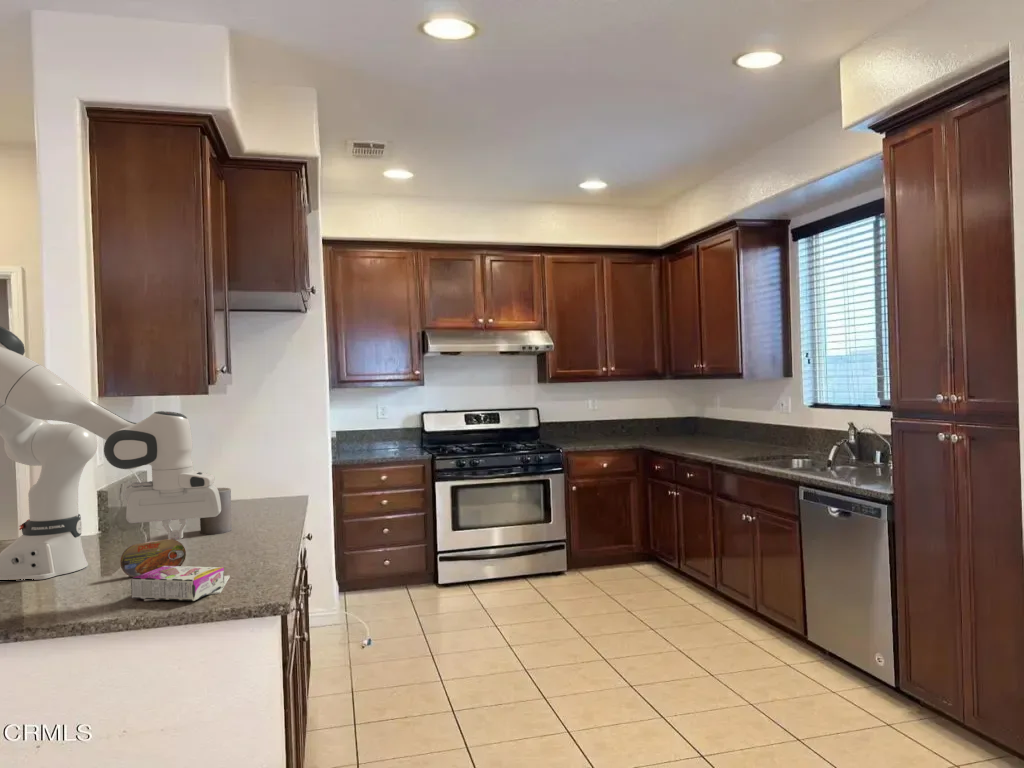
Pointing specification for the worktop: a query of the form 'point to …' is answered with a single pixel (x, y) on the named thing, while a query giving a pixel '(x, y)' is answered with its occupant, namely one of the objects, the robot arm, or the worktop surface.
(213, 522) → the pillar candle
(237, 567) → the worktop surface
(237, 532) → the worktop surface
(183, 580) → the candy bar box
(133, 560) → the tin
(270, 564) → the worktop surface
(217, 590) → the mat
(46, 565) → the robot arm
